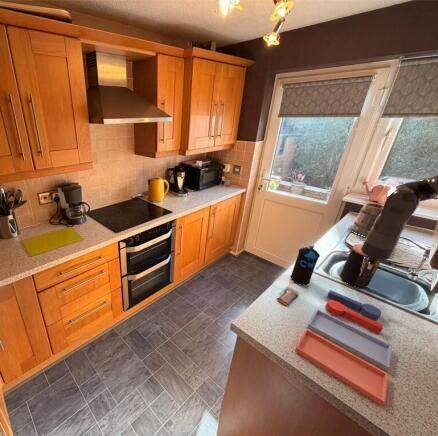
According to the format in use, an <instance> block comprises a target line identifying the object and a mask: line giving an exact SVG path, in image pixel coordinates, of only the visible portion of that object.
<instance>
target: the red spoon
mask: <svg viewBox="0 0 438 436" xmlns="http://www.w3.org/2000/svg"><path fill="white" fill-rule="evenodd" d="M324 308H325V310H326V312H327V313H328V314H329V315H331V316H333V317H339V318H341V317H342V318H344V319H347V320H348V321H350V322H353V323H354V324H357V325H359V326H361V327H363V328H365V329H367V330H370V331H371V332H374V333H376V334H378V335H380V334H381V332H382V331H383V327H384V324H382V323H380V322H378V321H377V320H376V321H374V320H371V319H369V318H367V317H365V316H363V315H361V314H360V313H359V312H357V311H355V310H353V309H352V310H351V309H350V308H348V307H346V306H345V305H343V304H341V303H340V302H338V301H335V300H331V299H329V300H327V302H326V304H325V307H324Z"/></svg>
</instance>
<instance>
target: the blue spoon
mask: <svg viewBox="0 0 438 436" xmlns="http://www.w3.org/2000/svg"><path fill="white" fill-rule="evenodd" d="M326 298H327V299H329V300H335V301H338V302H340V303H341V304H343V305H344V306H345V307H346V308H348V309H350V310H351V309H352V310H353V311H355V312H357V313H359V314H360V315H363V316H365V317H367V318H369V319H371V320H373V321H376V322H377V321H379V319H380V317H381V316H382V310H381V309H380V308H379V307H377V306H375V305H373V304H370V303H363V302H360V301H357V300H356V299H353V298H351V297H348V296H346V295H343V294H341V293H339V292H337V291H334V290H332V289H330V290H329V291H328V293H327V296H326Z"/></svg>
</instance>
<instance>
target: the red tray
mask: <svg viewBox="0 0 438 436" xmlns="http://www.w3.org/2000/svg"><path fill="white" fill-rule="evenodd" d="M294 352H296V353H297V354H298V355H300V356H302V357H303V358H305V359H306V360H308V361H310V362H311V363H313V364H314V365H316V366H318V367H319V368H321V369H322V370H324V371H325V372H327V373H328V374H330V375H332V376H333V377H335V378H336V379H338V380H340V381H341V382H343V383H344V384H346V385H348V386H350V387H351V388H353V389H354V390H356V391H357V392H358V393H360V394H362V395H364V396H365V397H366V398H368V399H370V400H372V401H373V402H375V403H376V404H378V405H379V406H381V407H383V406H384V404H385V403H386V397H387V396H386V395H387V390H388V389H387V388H388V381H389V373H388V372H387V371H385V370H383V369H382V368H380V367H378V366H376V365H374V364H372V363H371V362H369V361H367V360H365V359H363V358H362V357H360V356H358V355H356V354H354V353H352V352H351V351H349V350H347V349H345V348H343V347H342V346H340V345H338V344H336V343H334V342H332V341H331V340H329V339H327V338H325V337H323V336H321V335H320V334H318V333H316V332H314V331H312V330H311V329H309V328H305V330H304V331H303V333H302V335H301V337H300V339H299V341H298V343H297V345H296V347H295V349H294Z"/></svg>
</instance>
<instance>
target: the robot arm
mask: <svg viewBox="0 0 438 436" xmlns="http://www.w3.org/2000/svg"><path fill="white" fill-rule="evenodd" d="M433 199H438V174H436V175H434V176H431V177H426V178H422V179H418V180H414V181H410V182H406V183H402V184H398V185H397V186H394V187H392V188H390V190H388V191H387V193H386V199H385V201H384V204H383V205H382V206H383V209H382V211H381V214H380V215H379V216H378V217H377V219H376V220H375V223H374V225H373V227H372V229H371V230H370V232H369V233H368V235H367V237H366V238H365V240H364V241H363V243H362V244H363V246H362V248H361V251H362V252H363V253H364V254H365V257H364V260H363V264H362V267H361V271H360V275H359V276H360V277H359V279H358V281H357V283H356V284H357V285H359V286H361V287H364V286H365V284H366V282H367V280H370V277H371V275H372V274H373V273H374V271H375V269H376V267H377V266H378V264H379V261H380V260H381V261H388V260H389V259H390V258H391V256H392V255H393V252H394V251H395V249H396V247H397V245H398V243H399V240H400V238H401V235H402V233H403V232H404V229H405V227H406V225H407V222H408V221H409V220H410V218H411V217H412V216H413V215H414V213H415V212H416V210H417V209H418V207H419V205H420V203H421V202H425V201H429V200H433ZM379 259H380V260H379ZM379 265H380V264H379ZM378 267H379V266H378ZM374 274H375V273H374ZM367 275H368V276H367ZM364 288H365V287H364Z"/></svg>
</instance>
